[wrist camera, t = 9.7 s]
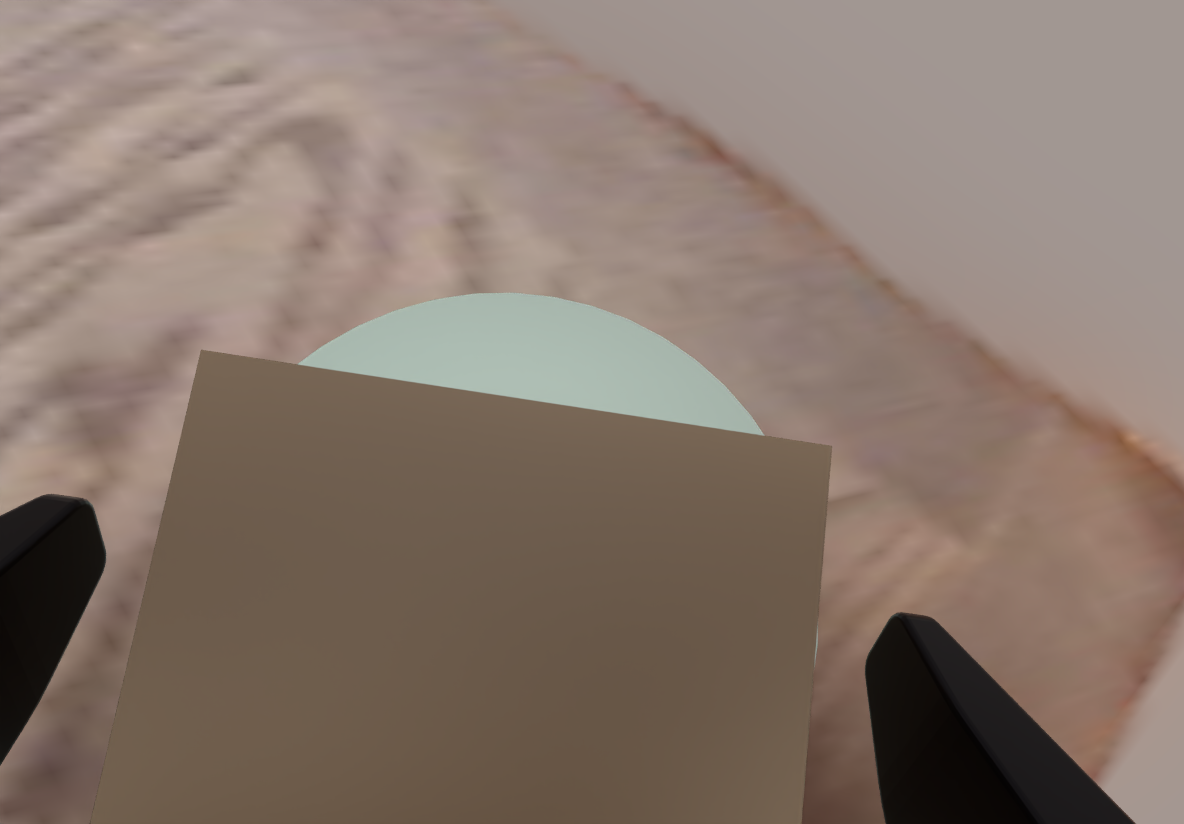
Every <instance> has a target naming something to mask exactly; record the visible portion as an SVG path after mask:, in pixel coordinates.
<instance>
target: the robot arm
mask: <svg viewBox="0 0 1184 824" xmlns="http://www.w3.org/2000/svg"><path fill="white" fill-rule="evenodd" d="M105 563H106V549H105V546H104V542H103V539H102V535H101V532H100V528H99V525H98V521H97V518H96V514H95V511H94V508H93V505H92V504H91V503H90V502H89V501H88V500H86V499H83V498H78V497H71V496H64V495H56V494H47V495H43V496H40V497H38V498H35V499H33V500H31V501H29V502H27V503H25V504H23V505H21V506H19V507H17V508H15V509H13V510H11V511H9V512H7V513H5V514H3V515H1V516H0V765H1V764H2V762H3V760H4V759H5V757H6V756H7V754H8V752H9V751H10V749H11V748H12V746H13V744H14V743H15V741H16V740H17V738H18V736H19V735H20V733H21V732H22V730H23V728H24V727H25V725H26V724H27V722H28V720H29V718H30V717H31V715H32V713H33V712H34V710H35V708H36V707H37V705H38V703H39V701H40V700H41V698H42V696H43V694H44V692H45V690H46V688H47V686H48V684H49V682H50V680H51V678H52V676H53V674H54V672H55V670H56V668H57V666H58V664H59V662H60V660H61V658H62V656H63V654H64V652H65V650H66V648H67V646H68V644H69V641H70V639H71V637H72V635H73V633H74V631H75V629H76V627H77V625H78V623H79V621H80V619H81V617H82V615H83V613H84V611H85V609H86V607H87V605H88V602H89V600H90V598H91V596H92V594H93V592H94V590H95V588H96V586H97V584H98V582H99V580H100V578H101V576H102V573H103V571H104V567H105ZM865 678H866V686H867V694H868V702H869V711H870V719H871V727H872V735H873V743H874V751H875V759H876V767H877V775H878V783H879V789H880V796H881V803H882V808H883V812H884V817H885V822H886V824H1135V822H1133V820H1132V819H1131V818H1130V817H1129V816H1128V815H1127V814H1126V813H1125V812H1124V811H1123V810H1122V809H1121V808H1120V807H1119V806H1118V805H1117V804H1116V803H1115V802H1114V801H1113V800H1112V799H1111V798H1110V797H1109V796H1108V795H1107V794H1106V793H1105V792H1104V791H1103V790H1102V789H1101V788H1100V787H1099V786H1098V785H1097V784H1096V783H1095V782H1094V781H1093V780H1092V779H1091V778H1090V777H1089V776H1088V775H1087V774H1086V773H1085V772H1084V771H1083V770H1082V769H1081V768H1080V767H1079V766H1078V764H1077V763H1076V762H1075V761H1074V760H1073V759H1072V758H1071V757H1070V756H1069V755H1068V754H1067V753H1066V752H1065V751H1064V750H1063V749H1062V748H1061V747H1060V746H1059V745H1058V744H1057V743H1056V742H1055V741H1054V740H1053V739H1052V738H1051V737H1050V736H1049V735H1048V734H1047V733H1046V732H1045V731H1044V730H1043V729H1042V728H1041V727H1040V726H1039V725H1038V724H1037V723H1036V722H1035V721H1034V720H1033V719H1032V718H1031V717H1030V716H1029V715H1028V714H1027V713H1026V712H1025V711H1024V710H1023V709H1022V708H1021V707H1020V706H1019V705H1018V703H1017V702H1016V701H1015V700H1014V699H1013V698H1012V697H1011V696H1010V695H1009V694H1008V693H1007V692H1006V691H1005V690H1004V689H1003V688H1002V687H1001V686H1000V685H999V684H998V683H997V682H996V681H995V680H994V679H993V678H992V677H991V676H990V675H989V674H988V673H987V672H986V671H985V670H984V669H983V668H982V667H981V666H980V665H979V664H978V663H977V662H976V661H975V660H974V659H973V658H972V657H971V656H970V655H969V654H968V653H967V652H966V651H965V650H964V649H963V648H962V647H961V646H960V645H959V644H958V642H957V641H956V640H955V639H954V638H953V637H952V636H951V635H950V634H949V633H948V632H947V631H946V630H945V629H944V628H943V627H942V626H941V625H940V624H939V623H938V622H937V621H935V620H934V619H932V618H931V617H928V616H924V615H917V614H910V613H902V612H900V613H896V614H894V615H893V616H891V618H890V619H889V620H888V622H887V624H886V625H885V627H884V629H883V630H882V632H881V634H880V635H879V637H878V639H877V640H876V642H875V644H874V645H873V647H872V649H871V650H870V652H869V654H868V656H867V660H866V665H865Z"/></svg>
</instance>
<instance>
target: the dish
mask: <svg viewBox="0 0 1184 824" xmlns="http://www.w3.org/2000/svg"><path fill="white" fill-rule="evenodd" d="M297 365H304V366H311V367H317V368H324V369H330V370H337V371H343V372H350V373H357V374H363V375H370V376H376V377H383V378H389V379H396V380H402V381H409V382H416V383H422V384H429V385H435V386H442V387H448V388H455V389H462V390H468V391H475V392H481V393H488V394H494V395H501V396H507V397H514V398H521V399H527V400H534V401H540V402H547V403H553V404H560V405H567V406H573V407H580V408H586V409H593V410H599V411H606V412H612V413H619V414H626V415H632V416H639V417H645V418H652V419H658V420H665V421H671V422H678V423H685V424H691V425H698V426H704V427H711V428H717V429H724V430H731V431H737V432H744V433H750V434H757V435H763V436H764V434H763V433H762V431H761V430H760V428H759V427H758V425H757V424H756V422H755V421H754V419H753V418H752V416H751V415H750V414H749V413H748V412H747V411H746V409H745V408H744V407H743V406H742V405H741V404H740V403H739V401H738V400H737V399H736V398H735V397H734V396H733V395H732V393H731V392H730V391H729V390H728V389H727V388H726V386H725V385H723V384H722V383H721V382H720V381H719V380H718V379H717V378H716V377H714V376H713V375H712V374H711V373H710V372H709V371H708V370H707V369H706V368H704V367H703V366H702V365H701V364H700V363H699V362H698V361H697V360H695V359H694V358H692V357H691V356H690V355H688V354H687V353H685V352H684V351H682V350H681V349H679V348H678V347H677V346H675V345H674V344H672V343H671V342H669V341H668V340H666V339H665V338H663V337H662V336H660V335H658V334H656V333H654V332H652V331H650V330H648V329H646V328H644V327H642V326H640V325H638V324H637V323H635V322H633V321H631V320H629V319H626V318H623V317H621V316H618V315H615V314H613V313H610V312H607V311H605V310H602V309H599V308H596V307H594V306H590V305H586V304H582V303H578V302H573V301H569V300H565V299H560V298H556V297H549V296H540V295H530V294H521V293H483V294H469V295H462V296H455V297H448V298H442V299H435V300H431V301H427V302H424V303H420V304H417V305H413V306H409V307H406V308H402V309H399V310H395V311H393V312H390V313H388V314H385V315H383V316H381V317H378V318H376V319H373V320H371V321H369V322H366V323H364V324H361V325H359V326H357V327H355V328H353V329H351V330H350V331H348V332H346V333H344V334H343V335H341V336H339V337H337V338H336V339H334V340H332V341H330V342H329V343H327V344H325V345H323V346H322V347H320V348H319V349H317V350H316V351H315V352H313V353H312V354H311V355H309V356H308V357H307V358H305V359H304V360H303V361H301V362H300V363H299V364H297ZM817 642H818V626H817V638H816V651H815V659H816V653H817ZM814 666H815V663H814Z"/></svg>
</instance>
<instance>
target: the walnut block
mask: <svg viewBox="0 0 1184 824" xmlns="http://www.w3.org/2000/svg"><path fill="white" fill-rule="evenodd" d="M831 453H832V446H829V445H822V444H816V443H809V442H803V441H796V440H790V439H783V438H776V437H770V436H763V435H757V434H750V433H744V432H737V431H731V430H724V429H717V428H711V427H704V426H698V425H691V424H685V423H678V422H671V421H665V420H658V419H652V418H645V417H639V416H632V415H626V414H619V413H612V412H606V411H599V410H593V409H586V408H580V407H573V406H567V405H560V404H553V403H547V402H540V401H534V400H527V399H521V398H514V397H507V396H501V395H494V394H488V393H481V392H475V391H468V390H462V389H455V388H448V387H442V386H435V385H429V384H422V383H416V382H409V381H402V380H396V379H389V378H383V377H376V376H370V375H363V374H357V373H350V372H343V371H337V370H330V369H324V368H317V367H311V366H304V365H297V364H291V363H284V362H278V361H271V360H265V359H258V358H252V357H245V356H238V355H232V354H225V353H219V352H212V351H206V350H201V352H200V357H199V361H198V365H197V369H196V374H195V378H194V382H193V386H192V391H191V395H190V399H189V404H188V408H187V412H186V416H185V421H184V425H183V429H182V433H181V438H180V442H179V446H178V450H177V455H176V459H175V463H174V467H173V472H172V476H171V480H170V484H169V489H168V493H167V497H166V501H165V506H164V510H163V514H162V518H161V523H160V527H159V531H158V536H157V540H156V544H155V548H154V553H153V557H152V561H151V565H150V570H149V574H148V578H147V582H146V587H145V591H144V595H143V599H142V604H141V608H140V612H139V616H138V621H137V625H136V629H135V633H134V638H133V642H132V646H131V650H130V655H129V659H128V663H127V668H126V672H125V676H124V680H123V685H122V689H121V693H120V697H119V702H118V706H117V710H116V714H115V719H114V723H113V727H112V731H111V736H110V740H109V744H108V748H107V753H106V757H105V761H104V765H103V770H102V774H101V778H100V782H99V787H98V791H97V795H96V799H95V804H94V808H93V812H92V817H91V821H90V824H801V823H802V811H803V799H804V786H805V774H806V762H807V749H808V737H809V725H810V712H811V700H812V688H813V675H814V663H815V651H816V638H817V626H818V613H819V601H820V589H821V576H822V564H823V552H824V539H825V527H826V515H827V502H828V490H829V478H830V465H831Z"/></svg>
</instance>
